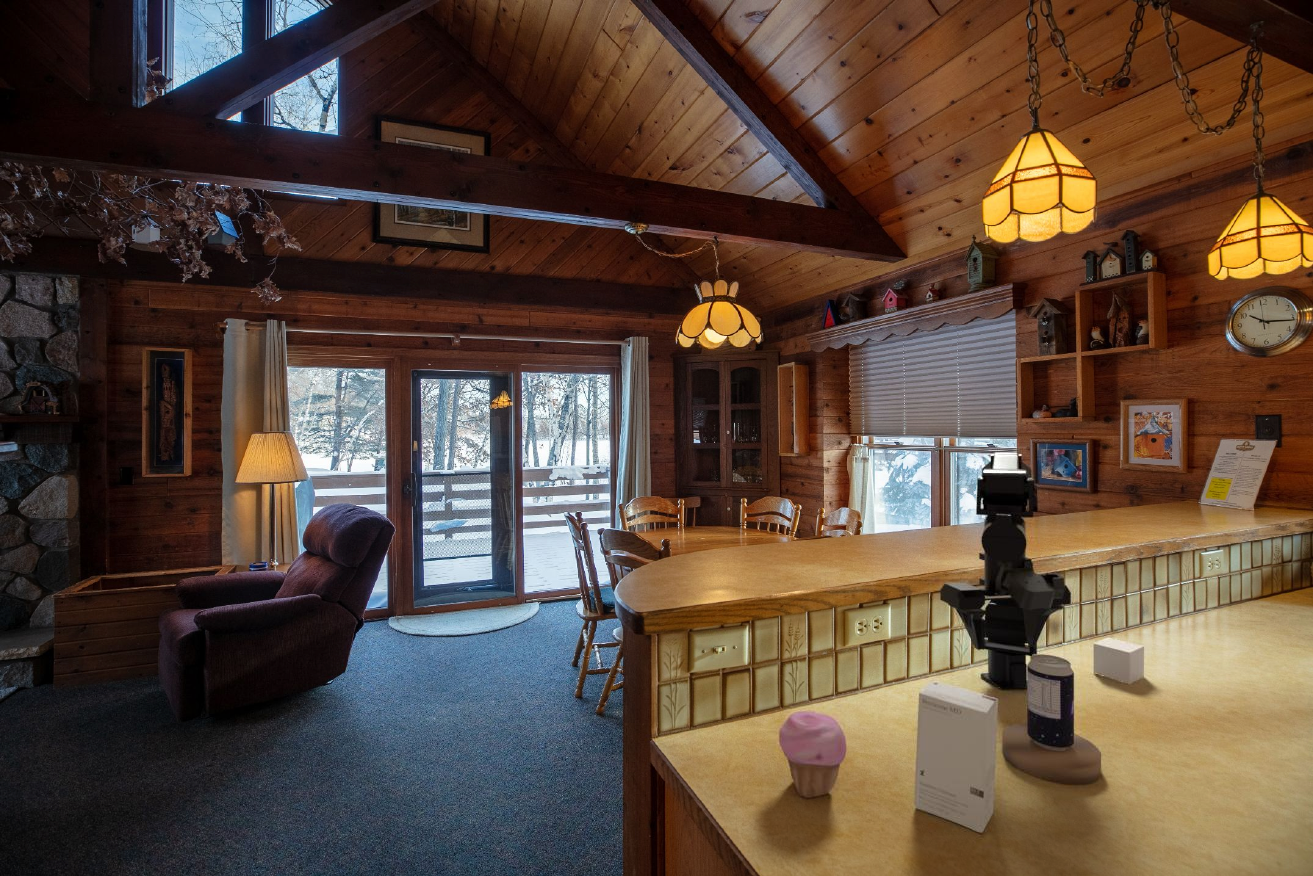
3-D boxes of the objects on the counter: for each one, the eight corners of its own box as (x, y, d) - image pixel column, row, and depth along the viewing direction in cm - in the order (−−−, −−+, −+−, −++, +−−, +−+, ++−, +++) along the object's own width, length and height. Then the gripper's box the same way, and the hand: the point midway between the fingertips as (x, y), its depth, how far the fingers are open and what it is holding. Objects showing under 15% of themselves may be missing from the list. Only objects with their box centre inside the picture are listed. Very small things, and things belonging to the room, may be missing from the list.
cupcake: (772, 772, 88) (771, 701, 88) (832, 769, 89) (832, 699, 89) (790, 811, 79) (789, 732, 79) (857, 807, 80) (857, 729, 80)
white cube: (1143, 677, 119) (1144, 646, 119) (1129, 685, 116) (1130, 652, 116) (1107, 667, 124) (1107, 637, 124) (1093, 674, 121) (1093, 643, 121)
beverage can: (1081, 755, 87) (1081, 669, 86) (1035, 751, 88) (1035, 666, 88) (1064, 735, 92) (1064, 654, 92) (1021, 732, 94) (1021, 652, 93)
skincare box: (913, 809, 79) (913, 692, 79) (928, 788, 84) (928, 677, 84) (987, 836, 74) (986, 711, 74) (998, 812, 79) (998, 694, 78)
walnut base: (984, 742, 95) (984, 726, 95) (1057, 737, 97) (1057, 721, 97) (1041, 788, 84) (1041, 769, 83) (1123, 781, 85) (1123, 762, 85)
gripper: (981, 563, 90) (982, 671, 90) (1100, 557, 92) (1100, 663, 93) (938, 548, 101) (938, 644, 102) (1044, 543, 103) (1044, 637, 104)
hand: (1004, 647), depth 100 cm, fingers open, 9 cm apart
